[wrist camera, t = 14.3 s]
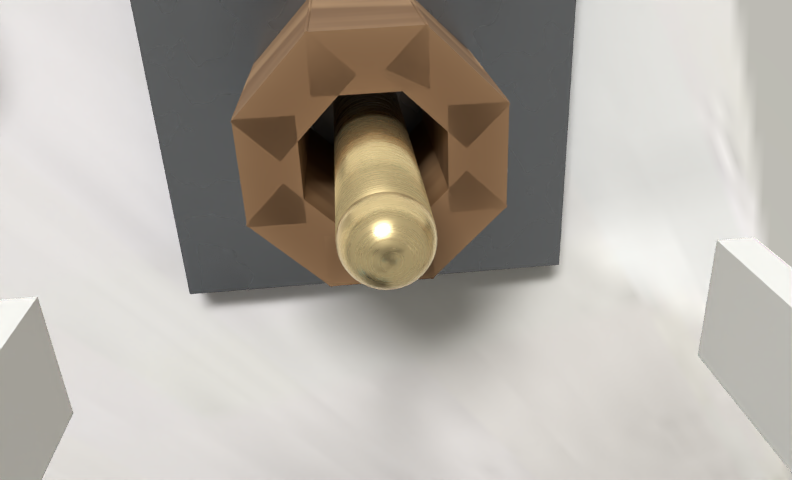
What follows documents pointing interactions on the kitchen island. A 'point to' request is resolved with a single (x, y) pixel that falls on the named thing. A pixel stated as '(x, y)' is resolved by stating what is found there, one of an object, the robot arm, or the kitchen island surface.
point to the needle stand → (354, 143)
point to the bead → (361, 74)
